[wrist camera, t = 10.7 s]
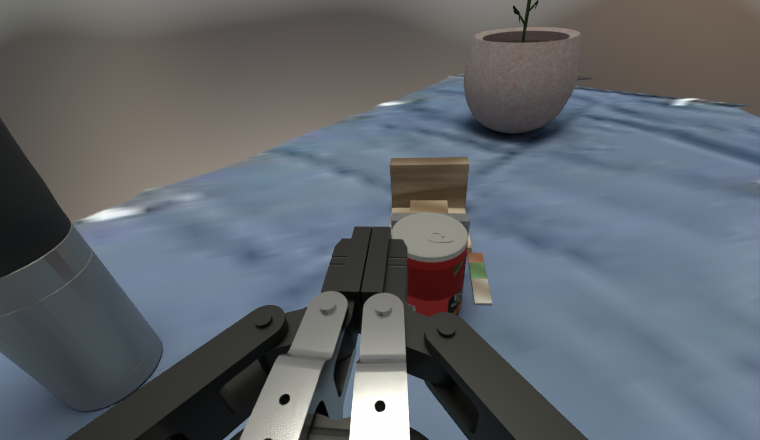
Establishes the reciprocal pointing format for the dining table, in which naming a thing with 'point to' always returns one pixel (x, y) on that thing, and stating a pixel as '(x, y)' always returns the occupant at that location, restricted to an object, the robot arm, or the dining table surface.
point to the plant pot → (521, 75)
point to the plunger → (460, 217)
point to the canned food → (433, 261)
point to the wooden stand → (437, 201)
